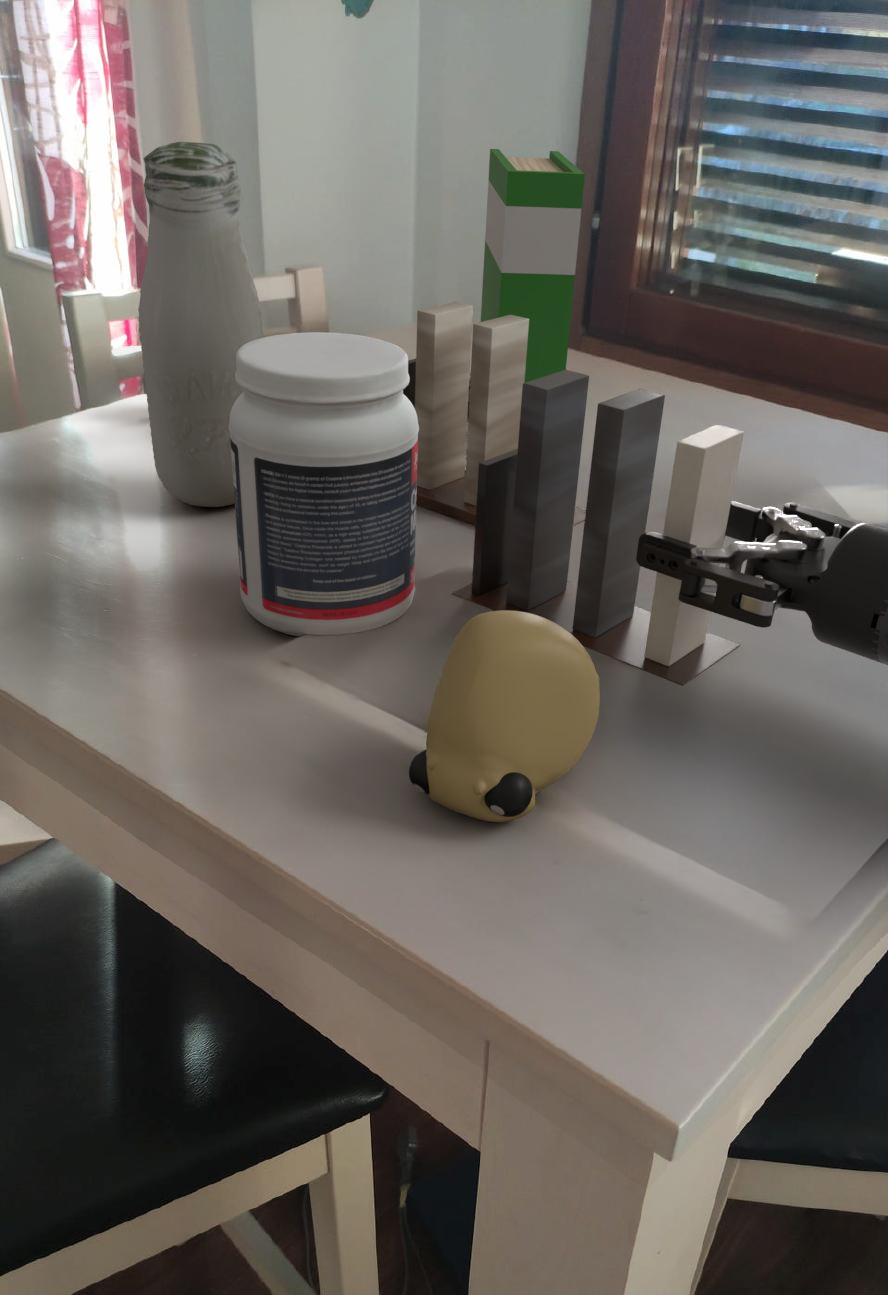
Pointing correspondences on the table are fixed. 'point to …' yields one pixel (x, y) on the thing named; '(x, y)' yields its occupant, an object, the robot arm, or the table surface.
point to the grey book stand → (542, 514)
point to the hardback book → (533, 251)
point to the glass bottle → (194, 317)
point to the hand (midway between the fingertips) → (674, 528)
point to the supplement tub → (324, 482)
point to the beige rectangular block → (693, 534)
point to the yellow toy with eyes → (506, 716)
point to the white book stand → (465, 402)
